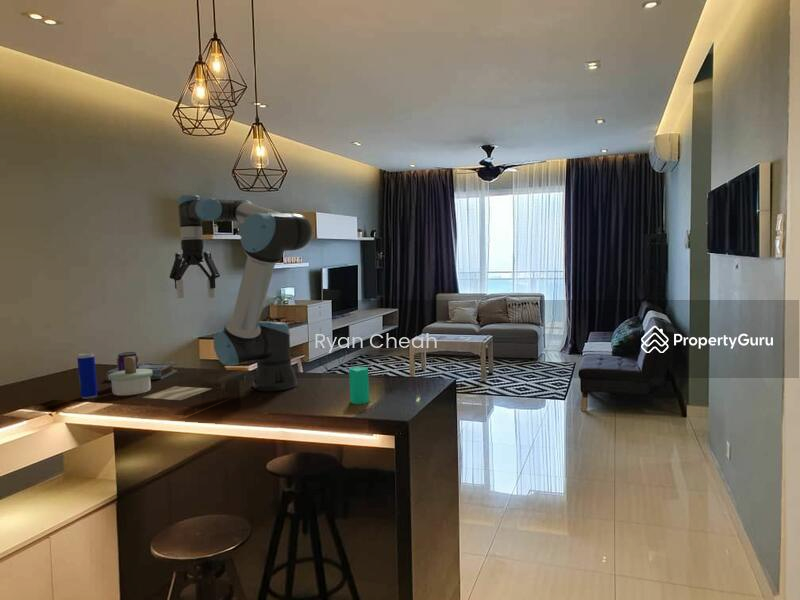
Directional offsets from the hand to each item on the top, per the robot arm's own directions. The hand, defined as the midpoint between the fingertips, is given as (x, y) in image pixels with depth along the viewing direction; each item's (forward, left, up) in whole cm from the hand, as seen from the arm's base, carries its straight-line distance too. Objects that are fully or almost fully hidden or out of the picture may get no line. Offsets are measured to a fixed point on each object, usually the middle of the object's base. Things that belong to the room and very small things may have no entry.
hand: (195, 298), depth 216 cm
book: (+34, -7, -32) cm, 48 cm away
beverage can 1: (+27, +25, -32) cm, 49 cm away
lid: (+16, +17, -26) cm, 35 cm away
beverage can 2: (+27, +7, -32) cm, 42 cm away
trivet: (-3, +16, -32) cm, 36 cm away
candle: (-68, +10, -32) cm, 76 cm away
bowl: (+16, +17, -32) cm, 39 cm away
